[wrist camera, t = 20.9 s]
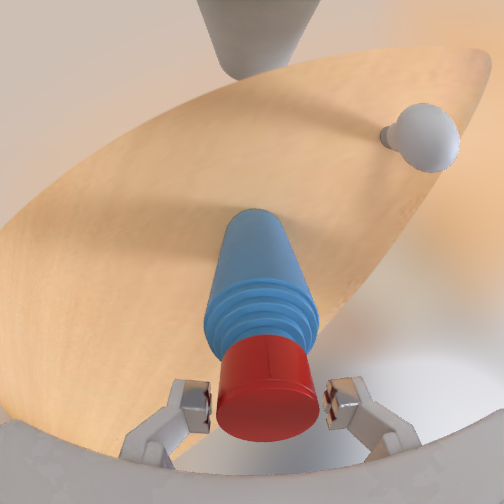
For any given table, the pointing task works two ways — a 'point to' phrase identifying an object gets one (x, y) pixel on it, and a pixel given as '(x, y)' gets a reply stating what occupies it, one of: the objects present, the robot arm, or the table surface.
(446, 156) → the lightbulb
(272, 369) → the cap
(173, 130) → the table surface
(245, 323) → the bottle
